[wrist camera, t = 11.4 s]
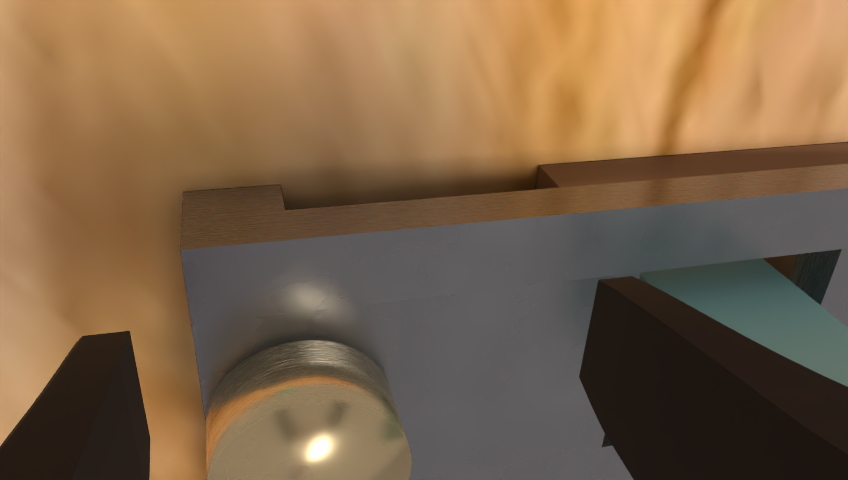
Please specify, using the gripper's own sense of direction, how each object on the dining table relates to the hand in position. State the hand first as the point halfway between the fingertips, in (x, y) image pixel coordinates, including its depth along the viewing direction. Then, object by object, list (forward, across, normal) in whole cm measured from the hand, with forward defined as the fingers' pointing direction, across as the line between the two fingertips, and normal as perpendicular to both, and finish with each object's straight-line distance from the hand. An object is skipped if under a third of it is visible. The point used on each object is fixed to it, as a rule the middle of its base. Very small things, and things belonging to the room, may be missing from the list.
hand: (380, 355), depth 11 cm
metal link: (+9, -7, +7) cm, 14 cm away
